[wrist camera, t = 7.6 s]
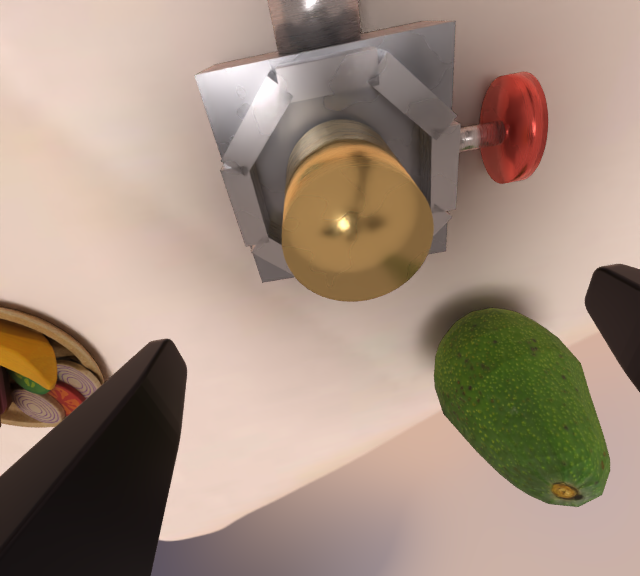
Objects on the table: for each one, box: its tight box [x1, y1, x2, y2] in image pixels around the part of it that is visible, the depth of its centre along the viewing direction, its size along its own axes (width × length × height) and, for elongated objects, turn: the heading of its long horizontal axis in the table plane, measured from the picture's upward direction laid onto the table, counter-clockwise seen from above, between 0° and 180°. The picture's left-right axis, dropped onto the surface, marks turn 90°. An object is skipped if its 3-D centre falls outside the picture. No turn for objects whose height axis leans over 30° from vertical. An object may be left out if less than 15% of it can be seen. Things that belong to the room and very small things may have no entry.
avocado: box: [434, 308, 610, 507], centre depth 21 cm, size 8×8×12 cm
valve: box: [194, 0, 548, 283], centre depth 16 cm, size 13×14×6 cm
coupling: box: [282, 119, 434, 301], centre depth 13 cm, size 4×4×6 cm
